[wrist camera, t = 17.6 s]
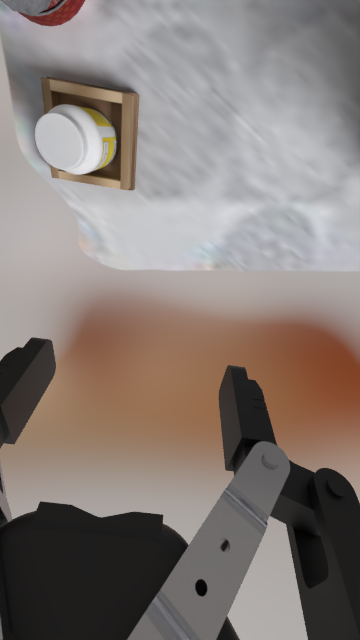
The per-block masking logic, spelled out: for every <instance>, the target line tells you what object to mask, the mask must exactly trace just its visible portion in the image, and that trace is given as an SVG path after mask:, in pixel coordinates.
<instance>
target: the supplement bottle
mask: <svg viewBox="0 0 360 640" xmlns="http://www.w3.org/2000/svg"><path fill="white" fill-rule="evenodd" d="M35 142H36V145H37V148H38V150H39V152H40V154H41V155H42V157H43V158H44V159H45V160H46V161H47V162H48V163H49V164H50V165H52V166H53V167H55V168H57V169H61V170H64V171H66V172H68V173H71V174H75V175H81V174H86V173H89V172H92V171H94V170H97V169H100V168H102V167H104V166H106V165H108V164H109V163H111V162H112V161H113V159H114V158H115V156H116V153H117V150H118V137H117V133H116V130H115V128H114V126H113V124H112V123H111V121H110V120H109V119H108V118H107V117H106V116H105V115H104V114H102V113H101V112H99V111H97V110H93V109H89V108H84V107H79V106H75V105H69V104H63V105H58V106H56V107H54V108H52V109H51V110H50V111H49V112H48V113H47V114H45V115H43V116H42V117H41V118H40V119H39V120H38V122H37V124H36V127H35Z"/></svg>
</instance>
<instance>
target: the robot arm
mask: <svg viewBox="0 0 360 640" xmlns="http://www.w3.org/2000/svg"><path fill="white" fill-rule="evenodd" d="M55 369H56V363H55V356H54V350H53V344H52V341H51V340H48V339H41V338H31V339H30V340H29V341H28V342H27V344H26V345H25V346H24V347H23V348H19V347H17V348H16V349H14V350H12V351H11V352H9V353H8V354H6V355H5V356H4V357H3V359H2V360H1V361H0V448H1V446H2V445H3V443H7V444H15V442H16V440H17V439H18V437H19V435H20V434H21V432H22V430H23V429H24V427H25V425H26V423H27V422H28V420H29V418H30V416H31V415H32V413H33V411H34V410H35V408H36V406H37V404H38V403H39V401H40V399H41V397H42V396H43V394H44V392H45V390H46V389H47V387H48V385H49V384H50V382H51V380H52V378H53V376H54V373H55ZM219 408H220V418H221V428H222V438H223V449H224V459H225V469H226V470H227V471H234V478H233V479H232V481H231V482H230V484H229V485H228V487H227V488H226V489H225V491H224V492H223V494H222V495H221V496H220V498H219V500H218V501H217V503H216V504H215V506H214V507H213V509H212V510H211V512H210V513H209V515H208V517H207V518H206V520H205V521H204V523H203V524H202V526H201V528H200V529H199V531H198V532H197V534H196V535H195V537H194V538H193V540H192V541H191V543H190V544H189V545H188V544H187V542H186V541H185V540H184V539H183V538H182V537H181V536H180V535H179V534H178V533H177V532H176V531H175V530H173V529H172V528H170V527H169V526H167V525H165V524H163V515H160V514H150V513H141V512H129V513H124V514H119V515H114V516H108V517H103V518H100V517H97V516H94V515H92V514H90V513H88V512H86V511H83V510H81V509H79V508H76V507H74V506H72V505H67V504H57V503H49V502H40V503H39V506H38V508H37V511H34V512H30V513H27V514H24V515H22V516H19V517H17V518H15V519H13V520H12V516H11V512H10V508H9V505H8V502H7V498H6V492H5V486H4V481H3V475H2V469H1V464H0V640H240V639H239V638H238V636H237V634H236V632H235V630H234V628H233V626H232V624H231V622H230V621H229V619H228V617H227V615H228V612H229V610H230V608H231V606H232V604H233V601H234V599H235V597H236V595H237V593H238V590H239V588H240V586H241V584H242V582H243V579H244V577H245V575H246V573H247V571H248V569H249V566H250V564H251V562H252V560H253V558H254V555H255V553H256V551H257V548H258V547H259V544H260V542H261V540H262V538H263V535H264V533H265V531H266V528H267V520H268V517H269V516H271V517H273V518H275V519H277V520H279V521H281V522H283V523H285V524H286V526H287V531H288V536H289V541H290V547H291V552H292V558H293V563H294V568H295V573H296V579H297V584H298V589H299V594H300V600H301V605H302V610H303V615H304V621H305V626H306V631H307V636H308V640H360V503H359V501H358V498H357V496H356V493H355V491H354V489H353V487H352V486H351V484H350V483H349V482H348V481H347V480H346V478H345V477H343V476H342V475H341V474H339V473H338V472H336V471H335V470H332V469H329V468H321V469H319V470H317V472H316V473H314V472H312V471H310V470H308V469H305V468H303V467H301V466H299V465H297V464H294V463H293V462H291V461H290V460H289V459H288V458H287V456H286V454H285V453H284V451H283V450H282V449H281V448H279V447H278V446H277V444H276V440H275V437H274V433H273V429H272V426H271V422H270V418H269V414H268V411H267V407H266V403H265V402H264V396H263V392H262V389H261V388H260V387H259V385H258V384H257V382H256V381H255V380H249V379H248V377H247V372H246V369H245V368H244V367H238V366H230V365H228V367H227V369H226V372H225V375H224V378H223V380H222V383H221V386H220V390H219Z"/></svg>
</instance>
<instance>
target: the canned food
mask: <svg viewBox="0 0 360 640" xmlns="http://www.w3.org/2000/svg"><path fill="white" fill-rule="evenodd" d="M2 1H3V2H4V3H5V4H6V5H7V6H8V7H10V8H11V9H12V10H13V11H17V12H19V13H20V14H21V15H23V16H24V17H26V18H27V19H29V20H30V21H32V22H35V23H37V24H40V25H44V26H57V25H61V24H63V23H65V22H67V21H69V20H71V19H72V18H73V17H74V16H75V15H76V14H77V13H78V11H79V10H80V8H81V7H82V5H83V4H84V1H85V0H2Z"/></svg>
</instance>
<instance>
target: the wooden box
mask: <svg viewBox="0 0 360 640" xmlns="http://www.w3.org/2000/svg"><path fill="white" fill-rule="evenodd" d="M41 82H42V91H43V101H44V110H45V114H47V113H48V112H49V111H50V110H51V109H52V108H54V107H56V106H58V105H63V104H69V105H75V106H79V107H84V108H89V109H93V110H97V111H99V112H101V113H102V114H104V115H105V116H106V117H107V118H108V119H109V120H110V121H111V123H112V124H113V126H114V128H115V130H116V133H117V137H118V150H117V153H116V156H115V158H114V159H113V161H112V162H111V163H109V164H108V165H106V166H104V167H102V168H100V169H97V170H94V171H92V172H89V173H86V174H81V175H75V174H71V173H68V172H66V171H64V170H61V169H57V168H55V167H53V166H52V165H51V174H52V178H58V179H64V180H70V181H76V182H82V183H88V184H94V185H100V186H106V187H111V188H117V189H123V190H134V189H135V171H136V150H137V129H138V109H139V95H138V94H136V93H131V92H125V91H120V90H115V89H109V88H104V87H99V86H93V85H88V84H83V83H77V82H72V81H67V80H62V79H56V78H51V77H47V79H45V78H41Z"/></svg>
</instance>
